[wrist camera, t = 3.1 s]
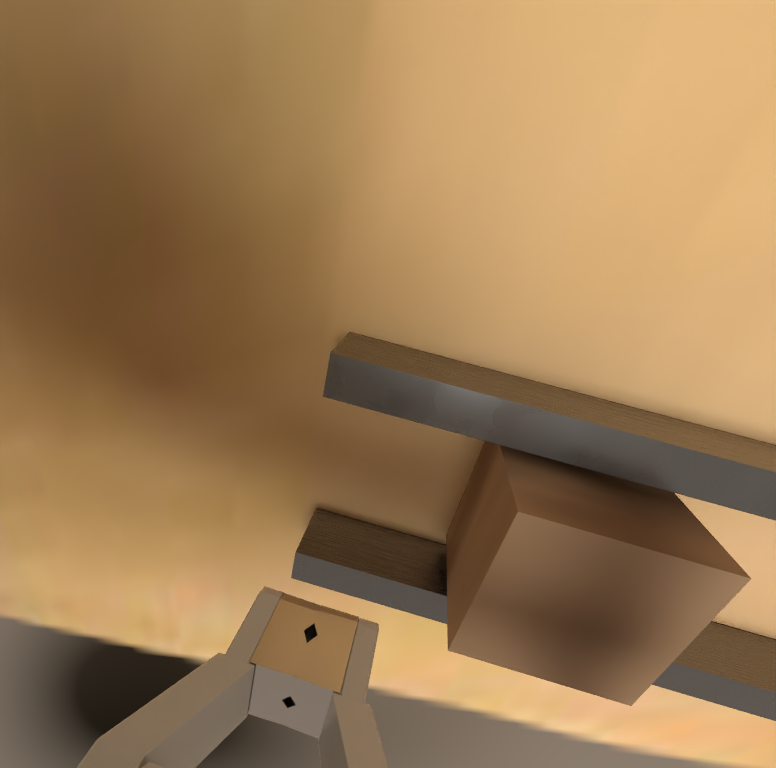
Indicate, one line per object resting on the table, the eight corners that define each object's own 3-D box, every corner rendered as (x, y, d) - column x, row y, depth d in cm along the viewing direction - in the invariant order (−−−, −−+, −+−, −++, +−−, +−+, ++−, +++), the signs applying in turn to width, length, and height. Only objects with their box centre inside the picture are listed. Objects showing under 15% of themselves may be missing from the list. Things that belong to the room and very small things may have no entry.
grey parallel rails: (311, 532, 17) (291, 577, 15) (350, 332, 13) (330, 352, 11) (779, 667, 16) (834, 738, 14) (971, 497, 12) (1092, 557, 10)
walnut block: (446, 533, 16) (447, 650, 12) (492, 420, 14) (517, 511, 9) (577, 571, 16) (630, 705, 11) (647, 463, 14) (750, 578, 9)
